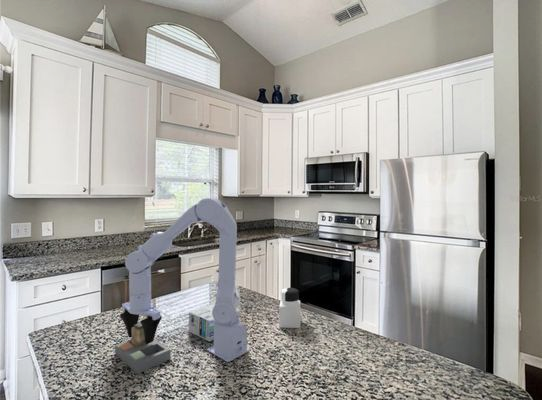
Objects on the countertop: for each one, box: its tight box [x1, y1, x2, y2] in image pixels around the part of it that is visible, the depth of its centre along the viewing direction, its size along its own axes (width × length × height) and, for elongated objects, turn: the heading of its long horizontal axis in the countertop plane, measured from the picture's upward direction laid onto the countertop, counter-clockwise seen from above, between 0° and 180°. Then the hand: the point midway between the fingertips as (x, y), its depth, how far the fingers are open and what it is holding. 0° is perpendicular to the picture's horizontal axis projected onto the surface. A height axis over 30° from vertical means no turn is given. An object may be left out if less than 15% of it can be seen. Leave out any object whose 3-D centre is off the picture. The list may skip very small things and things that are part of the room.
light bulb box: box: [188, 303, 216, 342], centre depth 96 cm, size 11×7×11 cm
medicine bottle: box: [278, 287, 301, 329], centre depth 102 cm, size 7×7×12 cm
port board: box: [114, 338, 172, 375], centre depth 81 cm, size 14×9×3 cm, turn 49°
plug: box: [131, 322, 146, 348], centre depth 85 cm, size 3×3×7 cm
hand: (140, 339), depth 85 cm, fingers open, 7 cm apart
